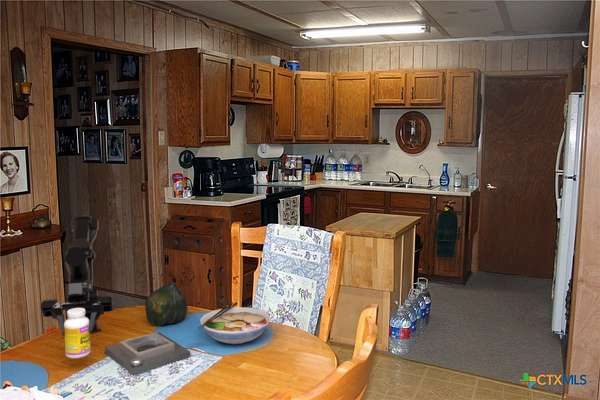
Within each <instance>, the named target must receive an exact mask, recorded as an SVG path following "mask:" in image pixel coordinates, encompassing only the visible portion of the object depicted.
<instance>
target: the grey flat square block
mask: <svg viewBox="0 0 600 400" xmlns="http://www.w3.org/2000/svg"><path fill="white" fill-rule="evenodd" d="M104 354H105V355H107V356H108V357H109V358H110V359H112V360H113V361H114V362H115V363H117V364H118V365H119V366H120V367H122V368H123V369H124V370H126V371H127V372H128V373H129V374H131V375H132V376H137V375H139V374H142V373H145V372H148V371H149V372H150V371H152V370H155V369H158V367H159V368H161V366H162V367H164V365H165V366H168V365H171V364H174V363H177V362H176V361H178V362H180V360H181V361H183V359H184V360H186V358H187V359H190V358H191V350H189V349H187V348H186V347H185V346H183V345H181V344H179V343H177V342H176V341H174V340H173V339H171V338H169V337H167V336H166V335H164V334H163V333H161V332H157V331H155V332H152V333H149V334H147V333H146V334H144V335H139V336H137V337H133V338H129V339H126V340H121V341H119V342H117V343H115V344H110V345H107V346H104ZM189 357H190V358H189ZM173 362H174V363H173ZM170 363H171V364H170ZM167 364H168V365H167Z"/></svg>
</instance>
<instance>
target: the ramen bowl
mask: <svg viewBox="0 0 600 400" xmlns="http://www.w3.org/2000/svg"><path fill="white" fill-rule="evenodd" d="M237 305H238V302H233V301H230V302H229V303H228V304H227V305H225V306H224V307H223V308H218V309H215V310H212V311H210V312H207V313H204V315H202V317H201V318H200V319H199V320H200V324H201V325H200V326H199V327H197V330H198V329H199V330H200V329H203V330H204V331H205V332H206V334H207V335H209V337H211V338H213V339H214V340H215V341H217V342H220V343H225V344H228V345H234V346H235V345H241V344H244V343H247V342H250V341H253V340H255V339H256V338H258V337H259V336H261V335H262V334H263V333H264V332H265V330H266V328H267V327H268V325H269V324H270V321H271V320H272V318H271V316H270V314H269V313H268V312H266V311H264V310H262V309H259V308H258V309H257V308H254V307H244V306H243V307H241V306H237ZM236 306H237V307H236Z"/></svg>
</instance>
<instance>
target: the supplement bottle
mask: <svg viewBox="0 0 600 400" xmlns="http://www.w3.org/2000/svg"><path fill="white" fill-rule="evenodd" d="M66 315H67V319H65V320H64V335H63V336H64V346H65V347H64V349H65V350H64V351H65V352H64V353H65V356H66V357H67V358H69V359H81V358H84V357H86V356H88V355H89V354H90V353H91V351H92V350H91V349H92V347H91V345H92V344H91V333H89V324H90V322H89V319H88V318H87V317H85V309H84V308H73V309H69V310H66Z"/></svg>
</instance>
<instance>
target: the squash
mask: <svg viewBox="0 0 600 400" xmlns="http://www.w3.org/2000/svg"><path fill="white" fill-rule="evenodd" d="M144 305H145V306H144V308H145V316H146V319H147V321H148V323H149V324H150V325H153V326H161V327H162V326H165V325H166V324H168V325H171V324H175V323H179V322H182V321H183V320H184V319H185V318H186V317H187V314H188V309H189V308H188V301H187V297H186V296H185V294H184V293H183V292H182V290H180V287H179V286H178V285H177V284H176V283H175V282H169V283H166V284H164V285H162V286H161V287H159V288H157V289H156V290H154V291H153V292H151V293H150V294H149V295H148V296H147V298H146V301H145V302H144Z"/></svg>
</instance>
